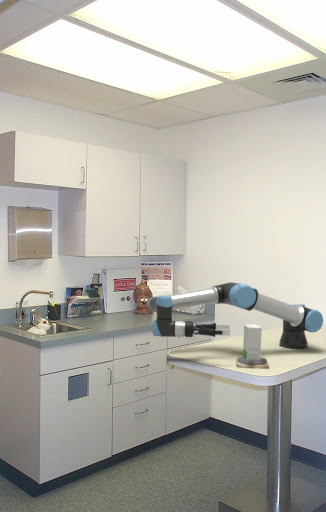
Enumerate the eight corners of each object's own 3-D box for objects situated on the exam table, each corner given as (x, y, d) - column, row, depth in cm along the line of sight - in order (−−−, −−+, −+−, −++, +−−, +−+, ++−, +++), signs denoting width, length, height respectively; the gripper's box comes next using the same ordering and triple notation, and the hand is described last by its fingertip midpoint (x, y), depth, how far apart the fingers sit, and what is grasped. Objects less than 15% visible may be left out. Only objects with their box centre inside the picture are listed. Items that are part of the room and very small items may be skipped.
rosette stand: (266, 361, 229) (266, 356, 229) (268, 368, 215) (269, 363, 215) (236, 360, 231) (236, 355, 231) (237, 367, 217) (237, 362, 217)
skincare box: (242, 357, 227) (243, 324, 227) (256, 357, 227) (257, 324, 227) (247, 361, 219) (247, 327, 218) (261, 361, 219) (262, 327, 219)
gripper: (186, 332, 243) (229, 333, 240) (182, 342, 218) (230, 343, 215) (186, 317, 243) (229, 318, 240) (182, 325, 218) (230, 326, 215)
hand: (229, 330), depth 228 cm, fingers open, 13 cm apart
